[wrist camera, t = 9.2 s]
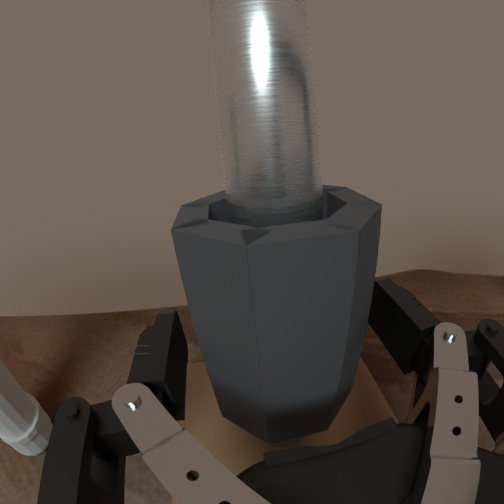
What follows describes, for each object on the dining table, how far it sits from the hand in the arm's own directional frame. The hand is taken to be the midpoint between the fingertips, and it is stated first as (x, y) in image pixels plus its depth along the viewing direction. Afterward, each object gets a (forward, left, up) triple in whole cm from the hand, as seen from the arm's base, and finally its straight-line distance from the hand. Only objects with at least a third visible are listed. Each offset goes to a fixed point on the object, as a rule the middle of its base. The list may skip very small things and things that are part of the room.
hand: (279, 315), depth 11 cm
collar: (0, 0, -4) cm, 4 cm away
